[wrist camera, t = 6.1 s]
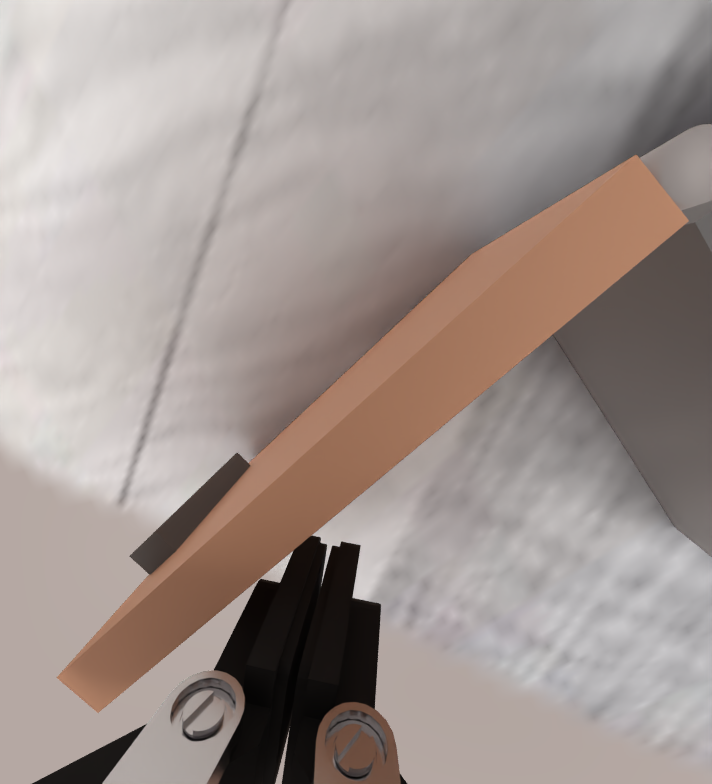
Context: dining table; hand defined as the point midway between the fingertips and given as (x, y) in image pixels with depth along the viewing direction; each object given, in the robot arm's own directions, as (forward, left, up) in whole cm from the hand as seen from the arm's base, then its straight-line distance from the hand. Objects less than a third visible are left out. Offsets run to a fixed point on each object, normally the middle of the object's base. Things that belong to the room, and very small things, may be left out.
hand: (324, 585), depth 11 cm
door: (-3, -4, -9) cm, 10 cm away
